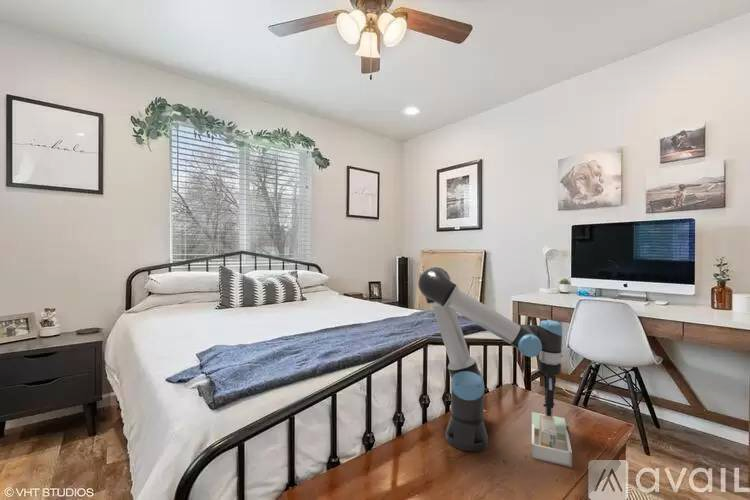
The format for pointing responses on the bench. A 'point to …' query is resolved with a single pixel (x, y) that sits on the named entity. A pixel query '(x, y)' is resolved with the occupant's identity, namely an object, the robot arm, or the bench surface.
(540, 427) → the supplement box
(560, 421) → the board
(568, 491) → the bench surface
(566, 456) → the tray
